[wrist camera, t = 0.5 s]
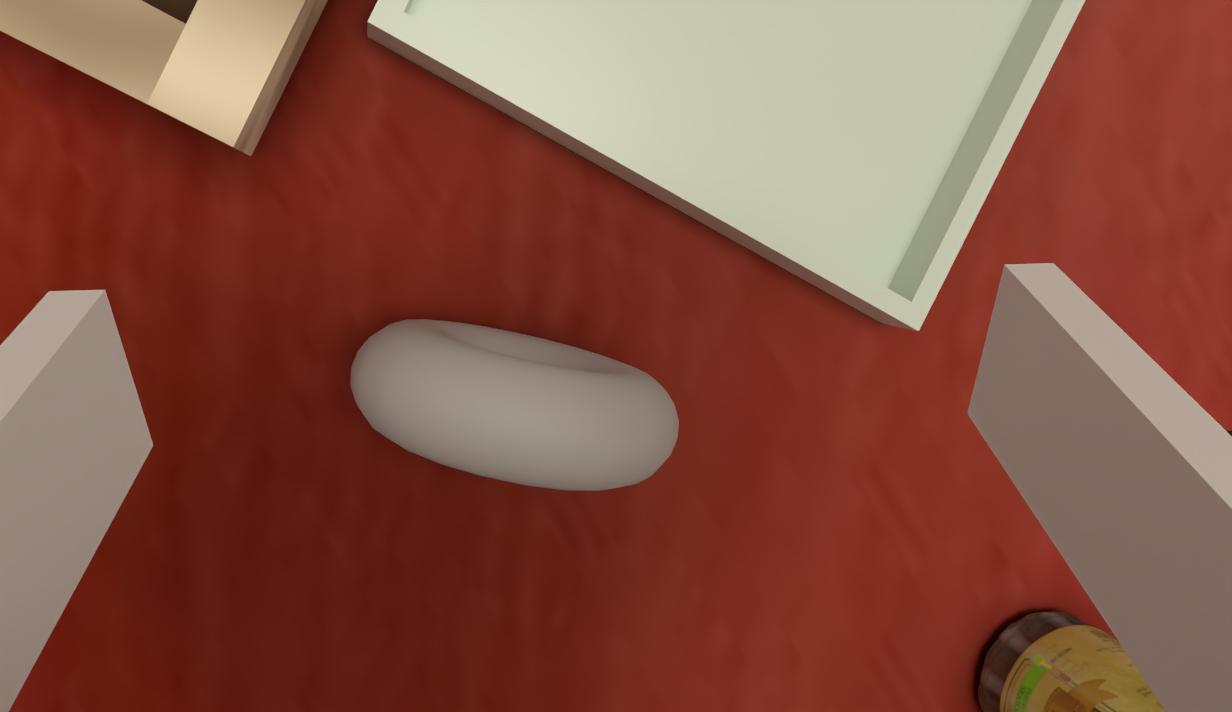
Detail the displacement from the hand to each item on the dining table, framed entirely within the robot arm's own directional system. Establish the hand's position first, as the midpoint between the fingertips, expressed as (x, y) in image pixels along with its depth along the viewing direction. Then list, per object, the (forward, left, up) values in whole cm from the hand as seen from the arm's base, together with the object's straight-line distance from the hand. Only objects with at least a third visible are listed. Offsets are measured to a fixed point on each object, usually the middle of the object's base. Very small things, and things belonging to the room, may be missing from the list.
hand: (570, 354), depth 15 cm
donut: (-2, -3, -20) cm, 20 cm away
